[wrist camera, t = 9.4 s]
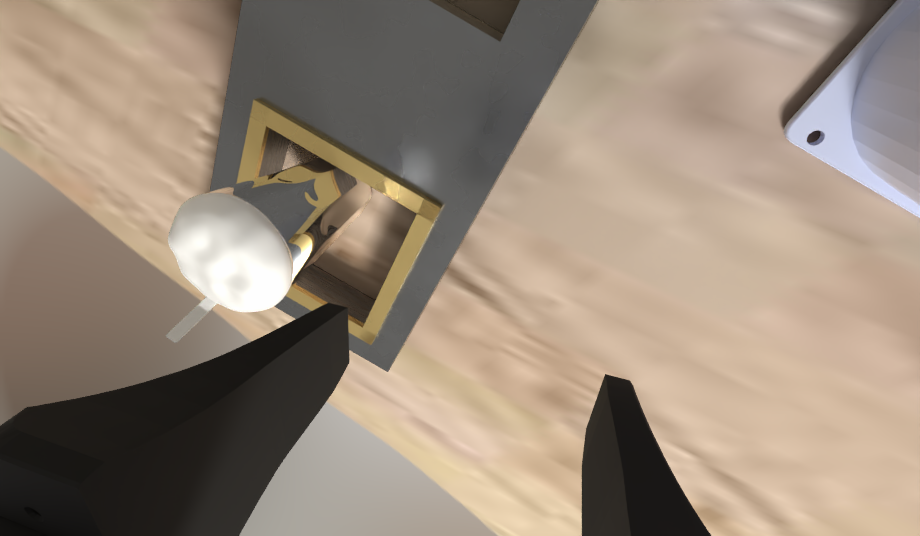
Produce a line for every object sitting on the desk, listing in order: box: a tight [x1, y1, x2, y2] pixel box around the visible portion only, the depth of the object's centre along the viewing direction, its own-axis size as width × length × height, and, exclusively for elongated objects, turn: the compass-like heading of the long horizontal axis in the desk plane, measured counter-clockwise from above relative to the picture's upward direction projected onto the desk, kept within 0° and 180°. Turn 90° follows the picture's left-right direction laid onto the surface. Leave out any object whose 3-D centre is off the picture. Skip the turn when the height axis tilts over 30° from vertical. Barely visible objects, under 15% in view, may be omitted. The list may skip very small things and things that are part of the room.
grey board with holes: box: [210, 0, 599, 372], centre depth 20 cm, size 12×26×2 cm, turn 154°
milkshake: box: [166, 157, 372, 343], centre depth 19 cm, size 4×5×10 cm
